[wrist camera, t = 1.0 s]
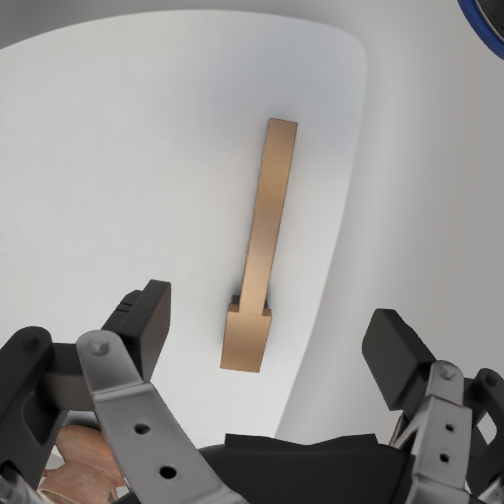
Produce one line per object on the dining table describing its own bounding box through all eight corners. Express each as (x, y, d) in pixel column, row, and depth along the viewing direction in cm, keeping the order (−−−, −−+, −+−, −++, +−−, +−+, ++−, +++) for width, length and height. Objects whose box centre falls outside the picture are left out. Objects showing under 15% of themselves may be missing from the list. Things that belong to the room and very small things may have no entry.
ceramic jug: (163, 447, 34) (145, 530, 20) (143, 476, 38) (127, 539, 25) (50, 392, 31) (8, 463, 17) (52, 432, 35) (24, 489, 22)
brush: (256, 120, 20) (257, 115, 17) (301, 128, 20) (310, 125, 17) (222, 347, 27) (219, 370, 24) (258, 352, 27) (259, 374, 24)
